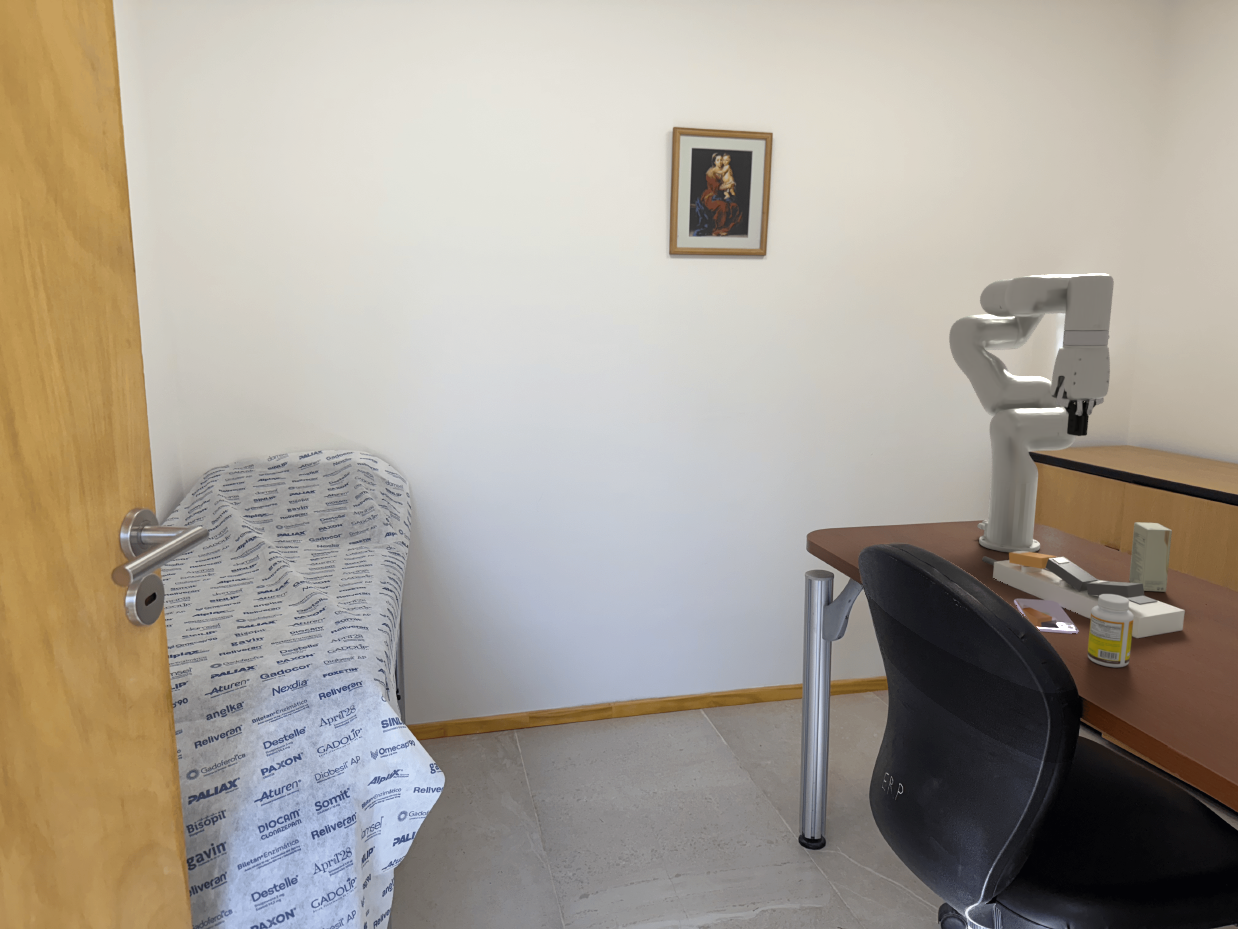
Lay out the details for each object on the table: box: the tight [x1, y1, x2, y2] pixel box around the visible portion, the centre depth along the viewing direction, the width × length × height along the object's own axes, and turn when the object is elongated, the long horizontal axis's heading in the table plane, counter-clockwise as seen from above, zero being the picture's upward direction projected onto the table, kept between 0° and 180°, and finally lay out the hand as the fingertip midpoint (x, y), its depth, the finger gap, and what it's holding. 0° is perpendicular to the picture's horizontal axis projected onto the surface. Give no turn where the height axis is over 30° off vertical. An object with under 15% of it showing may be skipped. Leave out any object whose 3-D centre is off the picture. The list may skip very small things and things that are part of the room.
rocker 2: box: [1046, 556, 1099, 591], centre depth 146 cm, size 8×4×2 cm, turn 18°
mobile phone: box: [1013, 598, 1080, 635], centre depth 141 cm, size 8×1×15 cm
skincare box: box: [1128, 521, 1173, 593], centre depth 154 cm, size 6×4×12 cm
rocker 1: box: [1008, 551, 1057, 569], centre depth 154 cm, size 8×4×2 cm, turn 17°
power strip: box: [981, 556, 1186, 639], centre depth 151 cm, size 40×10×5 cm, turn 18°
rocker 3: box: [1086, 580, 1145, 598], centre depth 137 cm, size 8×4×2 cm, turn 17°
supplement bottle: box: [1087, 594, 1134, 668], centre depth 122 cm, size 6×6×10 cm
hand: (1076, 434), depth 156 cm, fingers closed
